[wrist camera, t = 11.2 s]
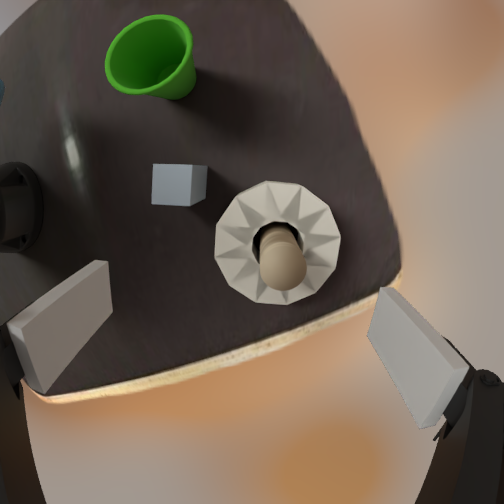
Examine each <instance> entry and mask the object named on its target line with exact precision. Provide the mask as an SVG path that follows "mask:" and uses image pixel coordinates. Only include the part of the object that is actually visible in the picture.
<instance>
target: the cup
mask: <svg viewBox="0 0 504 504" xmlns="http://www.w3.org/2000/svg"><path fill="white" fill-rule="evenodd" d="M192 49H193V36H192V33H191V31H190V29H189V27H188V26H187V25H186V24H185V23H184V22H183V21H182V20H180V19H178V18H176V17H173V16H169V15H152V16H147V17H144V18H141V19H139V20H137V21H134V22H133V23H131V24H130V25H128V26H127V27H125V28H124V29H123V30H122V31H121V32H120V33H119V34H118V35H117V36H116V38H115V39H114V40H113V42H112V43H111V45H110V47H109V49H108V52H107V55H106V59H105V72H106V76H107V79H108V81H109V82H110V84H111V85H112V87H114V88H115V89H117V90H118V91H119V92H122V93H125V94H128V95H142V94H146V95H151V96H156V97H160V98H165V99H170V100H175V99H180V98H183V97H184V96H186V95H188V94H189V93H190V92H191V91H192V89H193V88H194V86H195V84H196V71H195V66H194V61H193V55H192Z"/></svg>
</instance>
